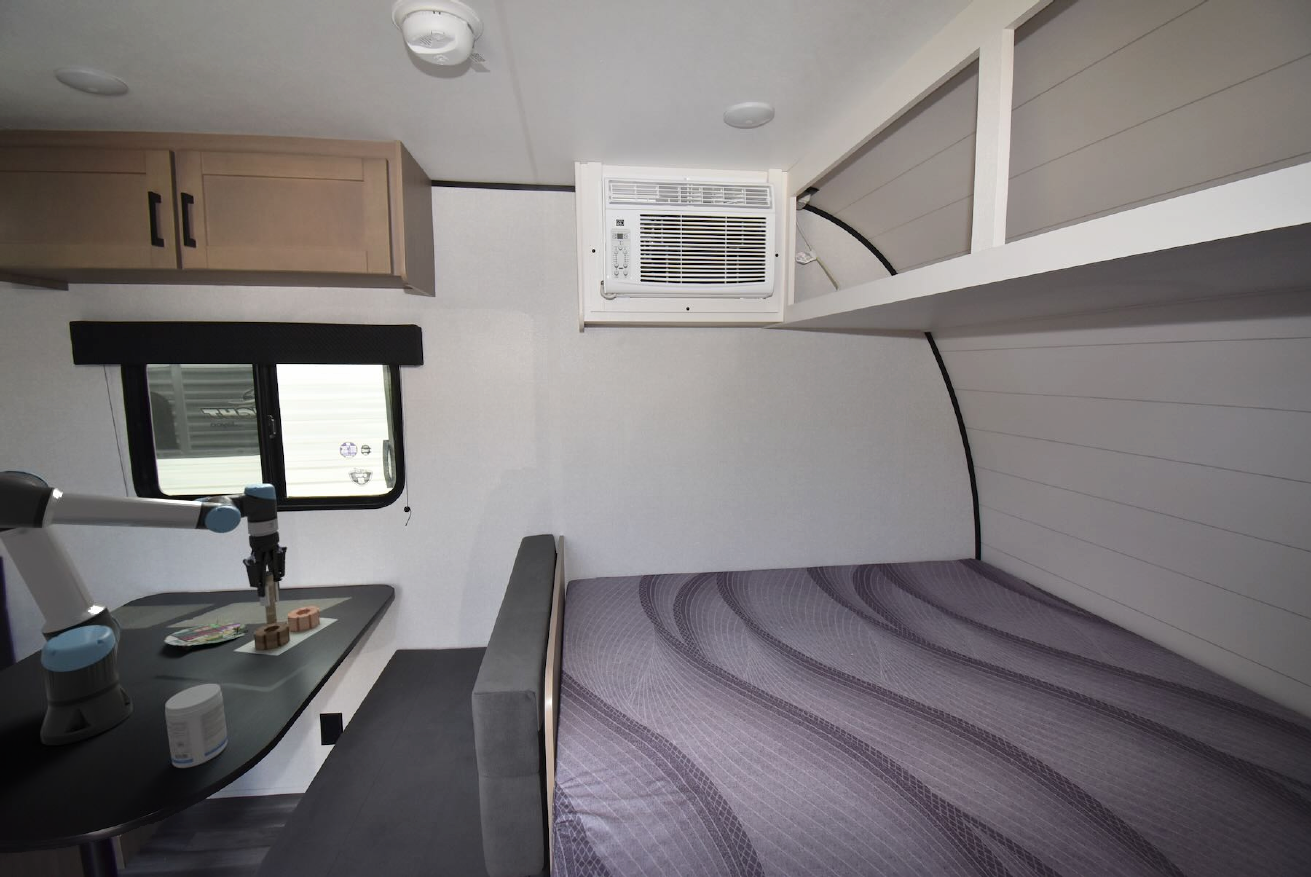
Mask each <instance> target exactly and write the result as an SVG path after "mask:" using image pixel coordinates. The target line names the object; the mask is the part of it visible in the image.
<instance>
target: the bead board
mask: <svg viewBox="0 0 1311 877" xmlns="http://www.w3.org/2000/svg"><path fill="white" fill-rule="evenodd" d="M319 619H320V624H319V625H317V626H316V627H314V628H309V630H305V631H301V632H300V631H298V632H291V631H289V634H290V641H288V643H286V644H285V645H283V646H281V647H280V646H278V648H275V649H271V650H267V649H266V650H265V651H260V650H256V649H255V640H254V639H253V640H251V641H250V642H248V643H246V644H244V645H242V646H240V647H237V648H236V649H234V650H233V652H239V653H240V652H241V653H246V654H247V653H250V654H259V655H268V656H280V655H281V654H283V653H285V652H286V651H288V650H289V649H291V648H293V647H294V646H296V645H298V644H299V643H301V642H303V641H305V640H307V639H308V638H309V637H311V636H313V635H315V634H316V633H318V632H319V631H321V630H323V629H325V628H326V627H328V626H330V625H331V624H333V623H335V622H337V621H338V620H339V619H338V618H330V617H329V618H327V617H319ZM286 623H288V621H286Z"/></svg>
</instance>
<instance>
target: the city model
mask: <svg viewBox="0 0 1311 877" xmlns="http://www.w3.org/2000/svg"><path fill="white" fill-rule="evenodd" d="M219 622H220V623H219ZM248 625H249V623H247V624H245V623H243V624H242V623H239V622H237V623H235V622H224V623H223V622H221V621H220V620H216V623H211V622H210V623H208V624H204V625H199V626H195V627H190V628H186V629H180V631H175V632H174V633H172V634H170V635H168V636H166V637H165V639H164V640H163V642H164V643H166V644H169V645H172V646H180V649H181V650H183V649H185V651H188V650H189V649H193V648H194V646H196V645H204V644H215V643H220V642H224V641H228V640H232V639H237V638H238V637H242V636H243V637H244V634H246V633H247V632H249V630H250V628H246V627H247V626H248ZM242 630H243V631H242Z"/></svg>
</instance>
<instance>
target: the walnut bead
mask: <svg viewBox="0 0 1311 877" xmlns="http://www.w3.org/2000/svg"><path fill="white" fill-rule="evenodd" d="M253 633H254V634H253V637H254V639H253V640H255V649H256V650H260V651H265V650H266V649H267V650H271V649H275V648H278V646H280V647H281V646H283V645H285V644H286V643H288V641H290V634H289V623H287V621H286V622H284V621H280V622H278V621H277V622H276V623H273V624H267V623H266V625H262V626H260V627H259V628H256V629H255V630H254V632H253Z"/></svg>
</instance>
